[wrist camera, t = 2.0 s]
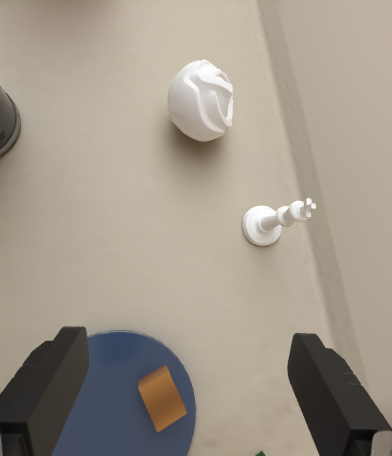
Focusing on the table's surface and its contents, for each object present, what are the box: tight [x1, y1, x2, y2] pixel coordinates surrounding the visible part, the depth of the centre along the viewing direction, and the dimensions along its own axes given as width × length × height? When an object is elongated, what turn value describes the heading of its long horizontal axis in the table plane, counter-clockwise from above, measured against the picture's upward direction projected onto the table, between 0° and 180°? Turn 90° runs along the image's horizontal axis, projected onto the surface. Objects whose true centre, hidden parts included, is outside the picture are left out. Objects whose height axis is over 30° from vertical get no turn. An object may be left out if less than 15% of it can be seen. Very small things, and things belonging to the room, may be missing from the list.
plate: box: [51, 330, 196, 456], centre depth 25 cm, size 16×16×1 cm
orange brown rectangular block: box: [138, 364, 187, 433], centre depth 25 cm, size 4×3×2 cm
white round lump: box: [168, 60, 234, 141], centre depth 29 cm, size 8×8×8 cm
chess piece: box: [242, 198, 316, 246], centre depth 28 cm, size 5×5×10 cm
